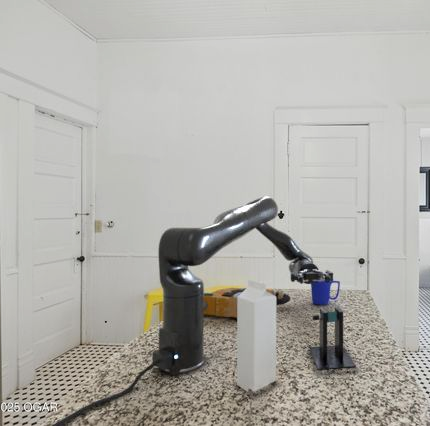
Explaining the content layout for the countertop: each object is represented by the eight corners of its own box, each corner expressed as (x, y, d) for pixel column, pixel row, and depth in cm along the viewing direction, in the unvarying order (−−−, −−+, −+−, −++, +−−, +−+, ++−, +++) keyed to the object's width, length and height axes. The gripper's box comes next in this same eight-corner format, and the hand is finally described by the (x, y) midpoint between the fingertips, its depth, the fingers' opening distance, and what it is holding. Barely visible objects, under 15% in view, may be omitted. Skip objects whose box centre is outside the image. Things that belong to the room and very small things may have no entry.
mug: (340, 306, 124) (340, 281, 124) (310, 305, 124) (310, 281, 124) (339, 300, 132) (339, 277, 132) (310, 300, 132) (310, 277, 132)
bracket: (309, 351, 82) (309, 303, 82) (342, 349, 84) (342, 302, 84) (318, 374, 70) (318, 318, 70) (356, 371, 72) (356, 316, 72)
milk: (259, 375, 70) (259, 277, 71) (276, 385, 66) (277, 281, 66) (236, 385, 66) (237, 281, 66) (253, 397, 62) (254, 286, 62)
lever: (312, 322, 87) (312, 313, 88) (331, 321, 88) (330, 312, 89) (321, 322, 75) (321, 312, 76) (343, 321, 76) (342, 311, 77)
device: (228, 280, 132) (293, 286, 123) (228, 300, 132) (293, 307, 123) (193, 293, 111) (269, 300, 101) (193, 316, 111) (269, 326, 101)
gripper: (287, 261, 113) (292, 268, 97) (326, 261, 115) (337, 267, 99) (287, 282, 113) (292, 292, 97) (325, 281, 115) (337, 291, 99)
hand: (315, 280), depth 98 cm, fingers open, 8 cm apart
